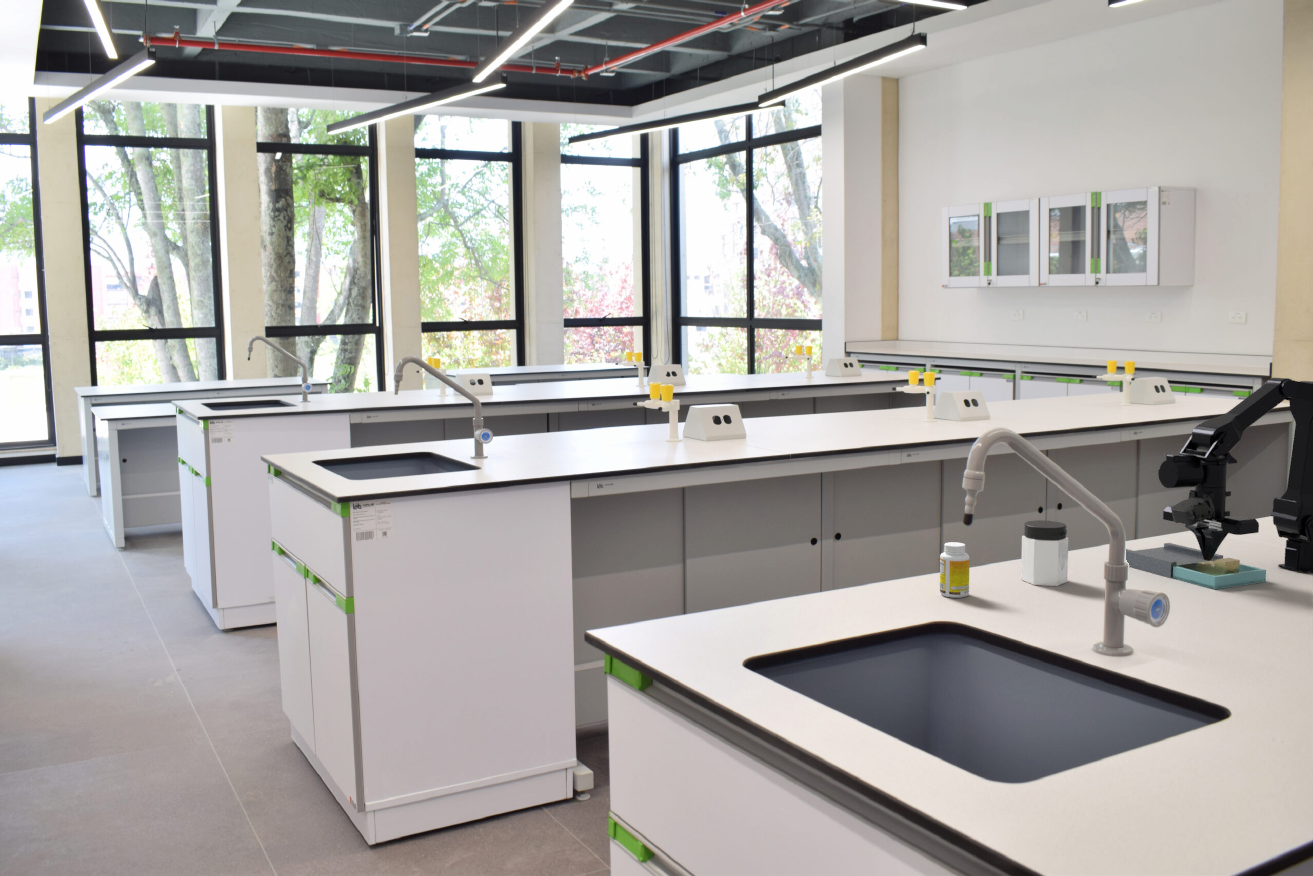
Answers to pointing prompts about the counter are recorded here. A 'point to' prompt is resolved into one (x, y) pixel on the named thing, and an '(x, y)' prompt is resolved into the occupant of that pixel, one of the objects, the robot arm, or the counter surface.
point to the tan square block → (1206, 567)
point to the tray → (1221, 577)
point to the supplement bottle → (954, 571)
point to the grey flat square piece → (1166, 559)
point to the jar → (1044, 553)
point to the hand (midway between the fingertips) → (1207, 560)
